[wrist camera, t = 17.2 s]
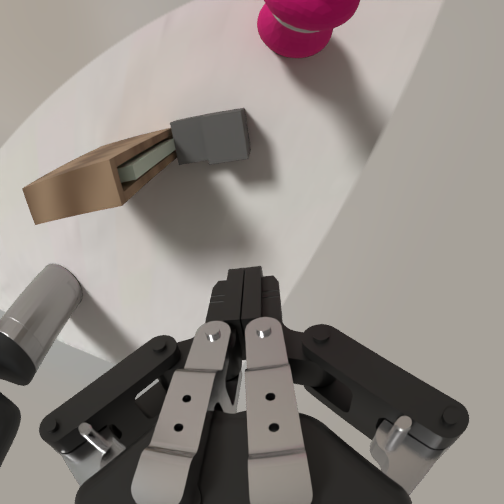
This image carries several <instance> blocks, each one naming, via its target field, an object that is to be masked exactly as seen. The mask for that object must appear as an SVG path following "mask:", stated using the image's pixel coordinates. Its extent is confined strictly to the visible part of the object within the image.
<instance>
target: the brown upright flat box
mask: <svg viewBox="0 0 504 504" xmlns="http://www.w3.org/2000/svg"><path fill="white" fill-rule="evenodd" d="M172 138H173V134H172V130H171V128H168V129H164V130H160V131H155V132H151V133H147V134H143V135H139V136H136V137H132V138H128V139H125V140H121V141H118V142H114V143H111V144H107V145H104V146H101V147H99V148H97V149H95V150H93V151H91V152H89V153H87V154H84V155H82V156H80V157H78V158H76V159H74V160H72V161H70V162H68V163H67V164H65V165H63V166H61V167H59V168H57V169H55V170H53V171H52V172H50V173H48V174H46V175H44V176H43V177H41V178H39V179H37V180H36V181H34V182H32V183H31V184H29V185H27V186H26V187H24V188H22V189H23V192H24V195H25V198H26V201H27V204H28V207H29V210H30V212H31V215H32V218H33V220H34V223H35V225H37V224H41V223H45V222H49V221H53V220H58V219H62V218H66V217H71V216H75V215H80V214H84V213H89V212H94V211H98V210H103V209H108V208H113V207H118V206H122V205H123V204H125V203H126V202H127V201H128V200H129V199H130V198H131V197H132V196H133V195H134V194H135V193H136V192H137V191H139V190H140V189H141V188H142V187H143V186H144V185H145V184H146V183H148V182H149V181H150V180H151V179H152V178H153V177H154V176H155V175H157V174H158V173H159V172H160V171H161V170H162V169H164V168H165V167H166V166H167V165H168V164H170V163H171V162H172V161H173V160H174V159H176V158H177V153H176V150H174V151H173V152H172V153H170V154H169V155H168V156H166V157H165V158H163V159H162V160H161V161H159V162H158V163H157V164H155V165H154V166H153V167H152V168H150V169H149V170H148V171H146V172H145V173H144V174H143V175H141V176H140V177H139V178H137V179H136V180H131V181H127V182H122V183H121V181H120V177H119V174H118V170H117V167H118V166H119V165H121V164H122V163H124V162H126V161H127V160H129V159H131V158H132V157H134V156H136V155H137V154H139V153H141V152H142V151H144V150H146V149H148V148H149V147H151V146H153V145H155V144H156V143H158V142H160V141H163V140H167V139H172Z"/></svg>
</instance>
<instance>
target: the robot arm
mask: <svg viewBox="0 0 504 504" xmlns="http://www.w3.org/2000/svg"><path fill="white" fill-rule="evenodd" d="M81 299H82V291H81V287H80V285H79V283H78V281H77V280H76V278H75V277H74V276H73V275H72V274H71V273H70V272H69V271H68V270H67V269H65V268H63V267H62V266H59V265H56V264H49V265H47V266H46V267H45V268H44V269H43V270H42V271H41V272H40V273H39V274H38V275H37V276H36V277H35V278H34V279H33V281H32V282H31V283H30V284H29V285H28V286H27V287H26V289H25V290H24V291H23V292H22V293H21V294H20V296H19V297H18V298H17V299H16V300H15V302H14V303H13V304H12V306H11V307H10V308H9V309H8V310H7V312H6V313H5V314H4V316H3V317H2V318H1V319H0V379H3V380H6V381H9V382H12V383H14V384H17V385H23V386H24V385H28V384H29V383H30V382H31V380H32V379H33V377H34V375H35V373H36V372H37V370H38V368H39V366H40V365H41V363H42V361H43V360H44V358H45V356H46V354H47V353H48V351H49V349H50V348H51V346H52V344H53V343H54V341H55V340H56V338H57V336H58V335H59V333H60V332H61V330H62V328H63V327H64V325H65V324H66V322H67V321H68V319H69V318H70V316H71V315H72V313H73V312H74V310H75V309H76V307H77V306H78V304H79V303H80V301H81ZM242 360H246V361H247V369H246V370H245V388H246V409H247V411H243V412H239V413H237V404H238V398H239V392H240V385H241V379H242V371H241V367H242ZM157 378H158V380H159V382H158V383H157V384H155V385H154V386H153V387H151V388H150V389H149V390H148V391H147V392H145V393H144V394H142V395H141V396H140V397H139V398H137V399H136V400H135V397H136V395H137V394H138V393H139V392H141V391H142V390H143V389H144V388H146V387H147V386H148V385H149V384H151V383H152V382H153V381H154V380H155V379H157ZM293 383H294V384H300V385H304V387H305V389H306V390H307V391H308V392H310V393H311V394H312V395H313V396H314V397H316V398H317V399H318V400H319V401H321V402H322V403H323V404H325V405H326V406H327V407H328V408H330V409H331V410H332V411H334V412H335V413H336V414H337V415H339V416H340V417H341V418H343V419H344V420H345V421H347V422H348V423H349V424H351V425H352V426H353V427H355V428H356V429H357V430H359V431H360V432H362V433H363V434H364V435H366V436H367V437H368V438H370V439H371V440H372V442H371V445H370V452H371V455H372V457H373V458H374V459H375V460H376V461H377V462H378V464H379V465H380V467H381V470H379V469H378V468H377V467H375V466H374V465H373V464H372V463H370V462H369V461H368V460H367V459H365V458H364V457H363V456H362V455H360V454H359V453H358V452H357V451H355V450H354V449H353V448H352V447H351V446H349V445H348V444H347V443H346V442H344V441H343V440H342V439H341V438H340V437H338V436H337V435H336V434H335V433H334V432H333V431H331V430H330V429H329V428H328V427H327V426H326V425H324V424H323V423H322V422H320V421H319V420H317V419H315V418H313V417H311V416H308V415H305V414H302V413H298V408H297V402H296V396H295V391H294V385H293ZM20 420H21V415H20V410H19V408H18V407H17V406H16V405H15V404H14V403H13V402H12V401H10V400H9V399H8V398H7V397H5V396H4V395H3V394H2V393H1V392H0V467H1V465H2V462H3V460H4V458H5V456H6V454H7V452H8V450H9V448H10V447H11V444H12V442H13V440H14V438H15V436H16V434H17V431H18V428H19V425H20ZM468 423H469V415H468V412H467V410H466V408H465V407H464V406H463V405H462V404H461V403H459V402H457V401H456V400H454V399H452V398H451V397H449V396H447V395H446V394H444V393H442V392H440V391H439V390H437V389H435V388H434V387H432V386H430V385H429V384H427V383H425V382H423V381H421V380H420V379H418V378H417V377H415V376H413V375H412V374H410V373H408V372H407V371H405V370H403V369H402V368H400V367H398V366H396V365H395V364H393V363H391V362H390V361H388V360H386V359H385V358H383V357H381V356H380V355H378V354H377V353H375V352H373V351H371V350H370V349H368V348H366V347H365V346H363V345H361V344H360V343H358V342H357V341H355V340H353V339H352V338H350V337H349V336H347V335H345V334H344V333H342V332H340V331H339V330H337V329H335V328H334V327H332V326H329V325H324V324H320V325H314V326H311V327H309V328H308V329H307V330H305V332H304V333H303V332H297V331H293V330H290V329H288V328H287V327H286V326H285V325H284V324H283V322H282V311H281V300H280V291H279V282H278V281H277V279H276V278H275V277H274V276H265V277H263V274H262V267H261V266H257V267H247V268H238V269H229V271H228V276H227V280H225V281H218V282H217V284H216V285H215V286H214V287H213V290H212V294H211V299H210V303H209V308H208V313H207V317H206V322H205V324H203V325H202V326H200V327H199V328H198V330H197V332H196V334H195V337H193V338H191V339H188V340H185V341H181V342H178V343H176V340H175V339H174V338H173V337H171V336H167V335H161V336H157V337H154V338H152V339H151V340H149V341H148V342H147V343H145V344H144V345H143V346H141V347H140V348H139V349H137V350H136V351H135V352H133V353H132V354H131V355H129V356H128V357H126V358H125V359H124V360H122V361H121V362H120V363H118V364H117V365H116V366H114V367H113V368H112V369H110V370H109V371H108V372H106V373H105V374H104V375H102V376H101V377H99V378H98V379H97V380H95V381H94V382H92V383H91V384H90V385H88V386H87V387H86V388H84V389H83V390H82V391H80V392H79V393H77V394H76V395H75V396H73V397H72V398H70V399H69V400H68V401H66V402H65V403H64V404H62V405H61V406H60V407H58V408H57V409H55V410H54V411H52V412H51V413H50V414H48V415H47V416H46V417H45V418H44V419H43V420H42V422H41V424H40V428H39V432H40V436H41V438H42V439H43V440H44V441H45V442H47V443H48V444H49V445H50V446H51V447H53V448H54V450H55V451H56V452H58V453H59V454H60V455H61V456H62V457H63V459H64V461H65V462H66V464H67V466H68V467H69V469H70V470H71V472H72V474H73V476H74V477H75V479H76V480H77V482H78V484H79V485H80V488H79V490H78V492H77V494H76V498H75V504H412V501H411V499H410V497H409V495H410V494H411V492H412V491H413V490H414V489H415V488H416V486H417V485H418V484H419V483H420V482H421V480H422V479H423V478H424V476H425V475H426V474H427V473H428V471H429V470H430V468H431V467H432V466H433V464H434V463H435V462H436V461H437V460H438V459H439V458H440V457H441V456H442V455H443V454H444V453H445V452H446V451H447V450H448V448H449V447H450V446H451V445H452V444H453V443H454V442H455V441H456V440H457V439H458V438H459V437H460V435H461V434H462V433H463V432H464V431H465V430H466V428H467V426H468Z"/></svg>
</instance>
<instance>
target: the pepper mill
mask: <svg viewBox="0 0 504 504" xmlns="http://www.w3.org/2000/svg"><path fill="white" fill-rule="evenodd" d="M264 1H265V4H264V6H263V7H262V9H261V11H260V13H259V16H258V21H257V27H258V32H259V35H260V37H261V39H262V40H263V42H264V43H265V44H266V45H267V46H268V47H269V48H270V49H271V50H273V51H274V52H275V53H277V54H279V55H282V56H285V57H290V58H304V57H309V56H312V55H314V54H316V53H318V52H319V51H321V50H322V49H323V48H324V47H325V46H326V45H327V43H328V42H329V40H330V38H331V35H332V32H333V28H335V27H338V26H340V25H342V24H344V23H345V22H346V21H348V20H349V19H350V18H351V17H352V16H353V15H354V13H355V11H356V10H357V8H358V5H359V2H360V0H264Z"/></svg>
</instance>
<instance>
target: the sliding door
mask: <svg viewBox="0 0 504 504" xmlns="http://www.w3.org/2000/svg"><path fill="white" fill-rule="evenodd" d="M174 150H176V149H175V144H174V139H173V138H172V139H167V140H163V141H160V142H158V143H156V144H155V145H153V146H151V147H149V148H148V149H146V150H144V151H142V152H141V153H139V154H137V155H136V156H134V157H132V158H131V159H129V160H127V161H126V162H124V163H122V164H121V165H119V166H118V167H117V170H118V174H119V177H120V181H121V183H122V182H127V181H131V180H136V179H137V178H139V177H140V176H141V175H143V174H144V173H145V172H146V171H148V170H149V169H150V168H152V167H153V166H154V165H155V164H157V163H158V162H159V161H161V160H162V159H163V158H165V157H166V156H168V155H169V154H170V153H172V152H173V151H174Z"/></svg>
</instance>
